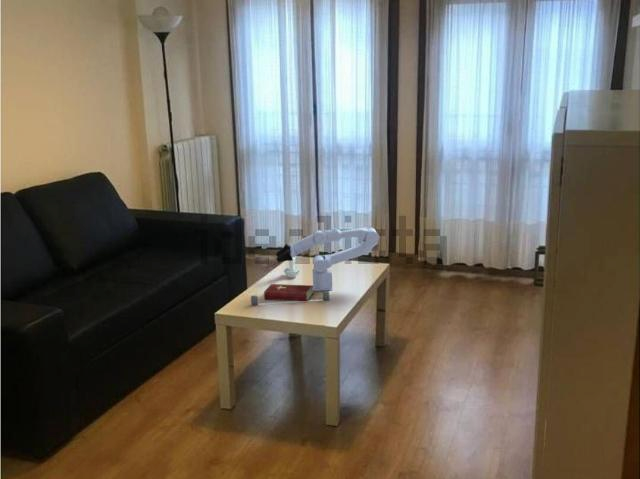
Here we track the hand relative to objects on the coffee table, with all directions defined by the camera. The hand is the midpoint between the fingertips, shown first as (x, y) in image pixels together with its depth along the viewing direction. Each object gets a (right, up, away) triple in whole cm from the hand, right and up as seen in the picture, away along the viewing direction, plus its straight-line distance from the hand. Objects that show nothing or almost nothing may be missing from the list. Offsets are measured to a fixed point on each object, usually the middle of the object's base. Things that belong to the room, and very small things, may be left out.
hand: (277, 258), depth 316 cm
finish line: (+7, -20, -13) cm, 25 cm away
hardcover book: (+6, -18, -5) cm, 20 cm away
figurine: (+6, -10, +26) cm, 29 cm away
